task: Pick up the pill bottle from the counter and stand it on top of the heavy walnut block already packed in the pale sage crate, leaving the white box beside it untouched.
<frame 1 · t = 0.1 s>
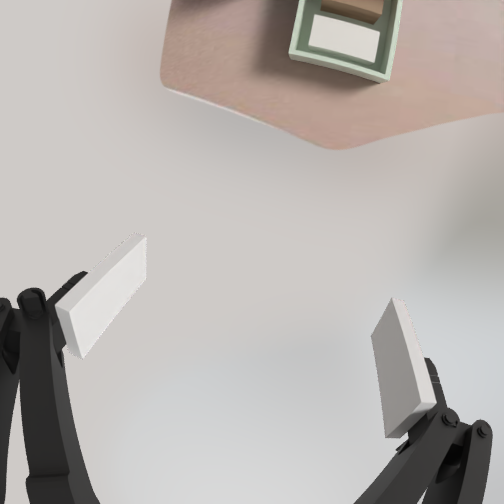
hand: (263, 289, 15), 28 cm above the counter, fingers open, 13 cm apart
crate: (346, 18, 28), on the counter
white box: (342, 42, 30), point 1 cm above the counter, touching crate
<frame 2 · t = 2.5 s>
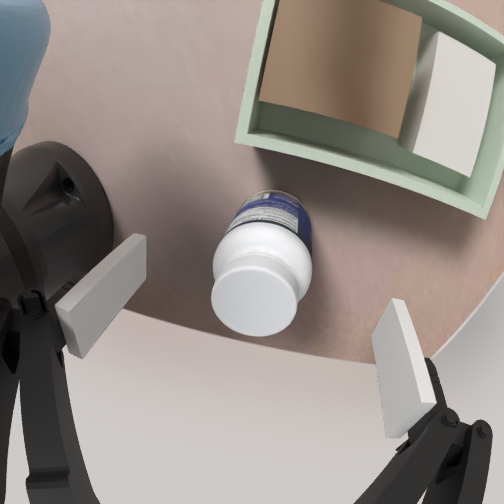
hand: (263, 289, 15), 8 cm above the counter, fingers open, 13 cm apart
walnut block: (334, 64, 16), point 1 cm above the counter, touching crate
crate: (384, 81, 16), on the counter
pill bottle: (274, 222, 22), on the counter
white box: (439, 102, 15), point 1 cm above the counter, touching crate
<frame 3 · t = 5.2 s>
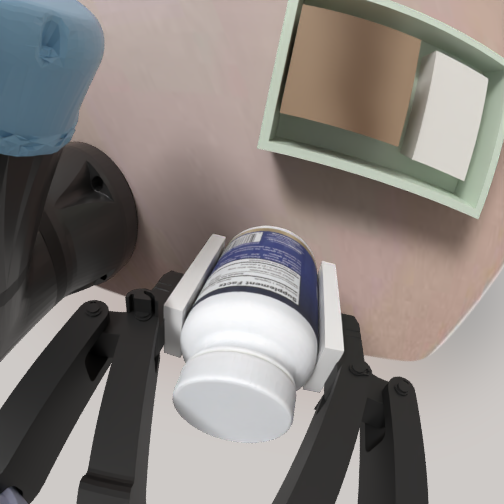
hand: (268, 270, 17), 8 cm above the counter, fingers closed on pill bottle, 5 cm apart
walnut block: (344, 80, 18), point 1 cm above the counter, touching crate
crate: (388, 95, 18), on the counter
pill bottle: (270, 265, 17), point 8 cm above the counter, touching gripper
white box: (437, 114, 17), point 1 cm above the counter, touching crate
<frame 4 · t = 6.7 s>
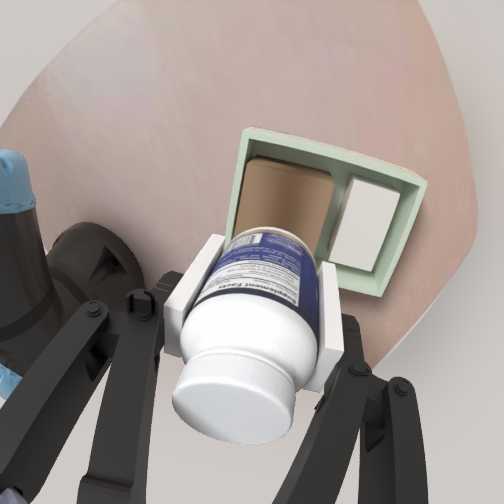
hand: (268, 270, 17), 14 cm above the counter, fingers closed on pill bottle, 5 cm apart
walnut block: (285, 197, 29), point 1 cm above the counter, touching crate
crate: (320, 204, 29), on the counter
pill bottle: (269, 266, 17), point 14 cm above the counter, touching gripper
white box: (359, 216, 28), point 1 cm above the counter, touching crate
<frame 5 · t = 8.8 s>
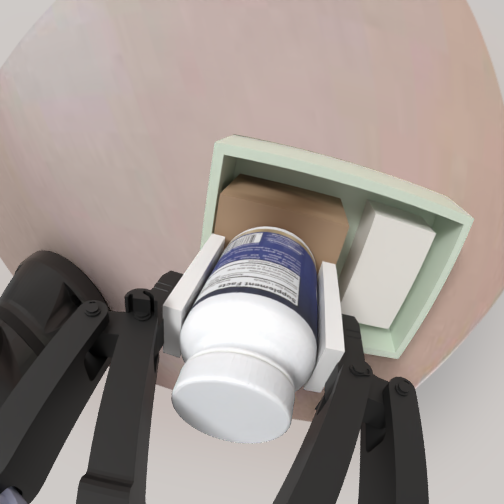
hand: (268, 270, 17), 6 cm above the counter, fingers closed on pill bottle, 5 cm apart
walnut block: (279, 231, 22), point 1 cm above the counter, touching crate
crate: (326, 240, 22), on the counter
pill bottle: (270, 266, 17), point 5 cm above the counter, touching gripper
white box: (376, 257, 21), point 1 cm above the counter, touching crate
when the fingers open (6 cm above the counter, at t = 8.8 s): pill bottle stays where it is, resting on walnut block.
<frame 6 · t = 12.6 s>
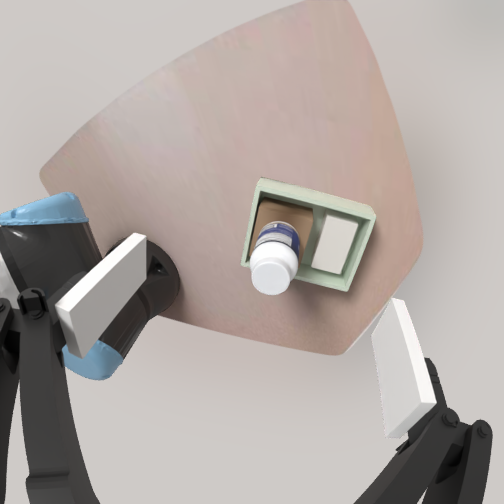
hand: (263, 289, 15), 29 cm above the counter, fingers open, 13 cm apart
walnut block: (283, 224, 43), point 1 cm above the counter, touching crate, pill bottle
crate: (306, 229, 44), on the counter
pill bottle: (279, 238, 39), point 5 cm above the counter, touching walnut block
white box: (332, 237, 43), point 1 cm above the counter, touching crate
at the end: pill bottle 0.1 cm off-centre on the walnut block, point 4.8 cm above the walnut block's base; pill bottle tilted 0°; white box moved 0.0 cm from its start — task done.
